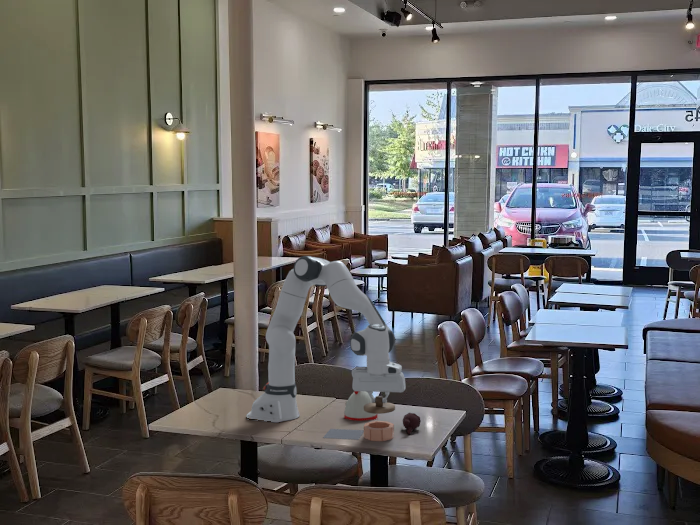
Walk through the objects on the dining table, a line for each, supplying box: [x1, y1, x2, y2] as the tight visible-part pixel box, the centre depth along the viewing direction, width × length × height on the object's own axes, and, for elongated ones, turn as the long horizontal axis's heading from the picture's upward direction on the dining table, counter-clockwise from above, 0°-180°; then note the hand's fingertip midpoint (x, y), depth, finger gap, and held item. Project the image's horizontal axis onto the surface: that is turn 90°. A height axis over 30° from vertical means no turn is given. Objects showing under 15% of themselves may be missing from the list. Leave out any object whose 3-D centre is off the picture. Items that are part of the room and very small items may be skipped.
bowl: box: [363, 420, 395, 442], centre depth 305 cm, size 11×11×5 cm
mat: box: [322, 428, 364, 441], centre depth 309 cm, size 14×12×1 cm
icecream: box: [402, 412, 422, 435], centre depth 315 cm, size 7×7×15 cm
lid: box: [364, 395, 396, 415], centre depth 304 cm, size 12×12×5 cm
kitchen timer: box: [343, 390, 378, 422], centre depth 333 cm, size 14×14×15 cm
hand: (379, 402), depth 304 cm, fingers closed on lid, 3 cm apart
